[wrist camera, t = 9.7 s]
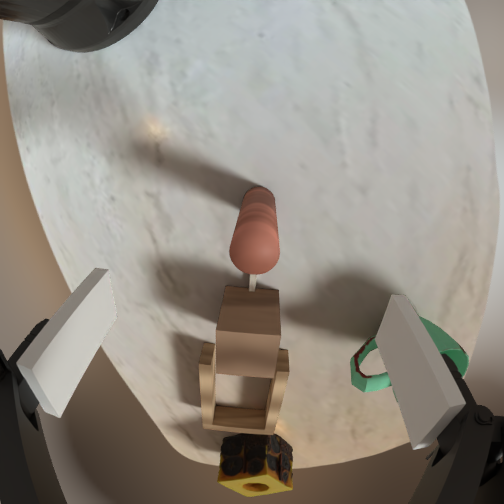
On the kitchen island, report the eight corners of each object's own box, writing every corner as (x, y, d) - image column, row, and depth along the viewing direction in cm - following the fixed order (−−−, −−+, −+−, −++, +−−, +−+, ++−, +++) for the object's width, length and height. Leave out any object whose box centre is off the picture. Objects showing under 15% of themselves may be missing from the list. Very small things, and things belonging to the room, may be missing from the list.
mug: (444, 294, 34) (480, 341, 25) (426, 350, 38) (452, 398, 29) (343, 304, 35) (363, 362, 26) (335, 361, 39) (347, 419, 30)
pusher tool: (229, 184, 30) (208, 225, 19) (290, 189, 30) (304, 232, 19) (224, 326, 37) (210, 402, 26) (273, 330, 37) (274, 407, 26)
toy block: (268, 425, 46) (267, 473, 37) (294, 446, 50) (295, 489, 41) (220, 437, 49) (214, 481, 40) (249, 457, 52) (247, 497, 43)
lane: (204, 342, 38) (198, 363, 35) (287, 350, 38) (289, 372, 35) (206, 409, 45) (202, 428, 41) (273, 415, 45) (273, 434, 41)
